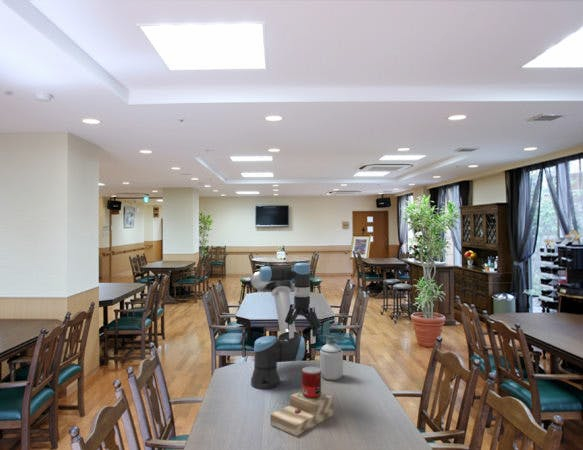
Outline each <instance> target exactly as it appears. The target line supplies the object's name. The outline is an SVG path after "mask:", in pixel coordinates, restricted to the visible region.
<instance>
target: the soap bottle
mask: <svg viewBox="0 0 583 450" xmlns="http://www.w3.org/2000/svg"><path fill="white" fill-rule="evenodd" d="M337 320H338V319H331V320H326V321H325V322H323V324H322V325H323V326H322V332H323V335H324V337H328V340H327V341H326V344H324V345H322V347H321V348H320V351H319V368H320V370H321V378H324V379H325V380H327V381H337V380H339V379H341V377H343V374H344V351H343V348H342V347H340V346H339V345H338V344H337V341H335V340H334V339H335V338H337V337H339V335H338V334H335V333H331V332H330V331H331V330H330V323H331V322H334V321H337Z"/></svg>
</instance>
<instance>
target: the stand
mask: <svg viewBox="0 0 583 450" xmlns="http://www.w3.org/2000/svg"><path fill="white" fill-rule="evenodd" d="M289 399H290V400H289V402H290V403H289V405H288V406H285V407H283V408H280V409H279V410H277V411H275V412H274V411H273V412H272V413H270V416H269V417H270V421H269V422H270V423H269V424H270V425H271V426H273V427H276V428H277V429H280V430H282V431H284V432H286V433H289V434H290V435H292V436H295V437H296V436H297V437H298V436H299V435H300V434H302V433H304V432H306V431H307V430H309V429H311V428H314V427H315V426H317V425H318V424H320V423H321V422H324V421H325V420H327V419H328V418H330V417H332V416H334V396H333V395H332V394H328V393H325V392H322V391H321V395H320V397H318V398H306V397H304V396H303V389H302V390H299V391H298V392H296V393H293V394H291V395H290V398H289Z"/></svg>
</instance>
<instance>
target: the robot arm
mask: <svg viewBox="0 0 583 450" xmlns="http://www.w3.org/2000/svg"><path fill="white" fill-rule="evenodd" d="M250 284H251V286H252V287H253V289H255V290H257V291H259V292H270V295H271V296H272V297H274V301H275V302H274V303H275V309H276V316H277V322H278V326H279V327H278V328H279V335H278V336H275V335H265V336H261V337H258V338H256V340H255V341H254V346H253V354H254V355H253V357H254V358H253V360H254V361H253V365H254V366H253V372H252V375H251V377H250V385H251V386H252V387H253V388H255V389H259V390H260V389H261V390H262V389H263V390H267V389H274V388H276V387H278V386H280V384H281V378H280V374H279V370H278V367H277V365H278V363H285V362H296V361H301V360H303V358H304V356H305V352H306V341H305V338H304V336H301V335H300V333H299V331H297V330H296V325H295V320H296V319H297V318H298V316H302V317H304V318H305V320H307V322H308V324H309V326H310V328H311V329H310V345H313V344H315V343H316V337H317V336H318V335H317V334H318V332H317V331H318V329H321V324H320V321H319V319H318V316H317V313H316V307H314V306H312V307H310V304H311V297H310V296H311V267H310V264H309V262H308V263H307V262H297V263H294V264H293V265H277V266H275V265H273V266H269V265H266V266H260V268H259V270H258V271H257V272H255V273H253V274H252V275H251V277H250ZM293 289H294V290H293ZM292 290H293V292H294V293H293V294H294V297H293V303H291V298H290V294H291V292H292ZM277 337H278V338H277Z"/></svg>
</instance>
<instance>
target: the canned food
mask: <svg viewBox="0 0 583 450" xmlns="http://www.w3.org/2000/svg"><path fill="white" fill-rule="evenodd" d="M301 371H302V372H301V373H302V374H301V376H302V380H301V381H302V384H301V387H302V390H303V396H304V397H306V398H318V397H320V395H321V392H322V376H321V370H320V367H317V366H305V367H303V368H302V370H301Z"/></svg>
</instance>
